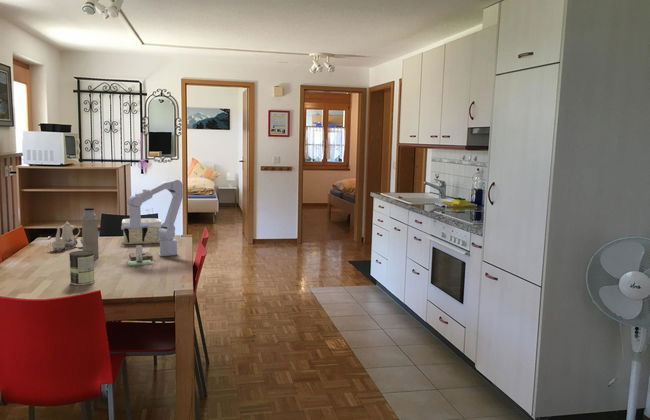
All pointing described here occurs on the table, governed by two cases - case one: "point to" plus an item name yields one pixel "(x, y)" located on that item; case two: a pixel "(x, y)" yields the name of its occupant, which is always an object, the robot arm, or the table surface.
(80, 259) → the coffee can
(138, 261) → the steel peg
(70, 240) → the chinaware
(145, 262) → the sage mat
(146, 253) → the eye block
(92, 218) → the thermos bottle
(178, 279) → the table surface
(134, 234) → the storage basket
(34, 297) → the table surface
